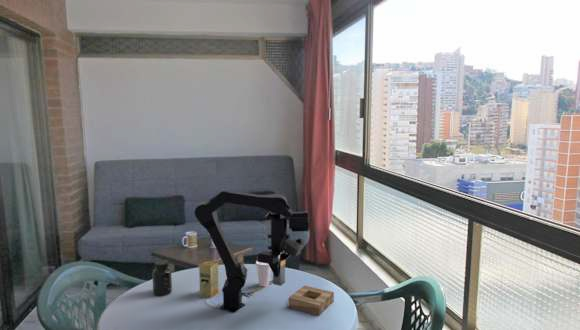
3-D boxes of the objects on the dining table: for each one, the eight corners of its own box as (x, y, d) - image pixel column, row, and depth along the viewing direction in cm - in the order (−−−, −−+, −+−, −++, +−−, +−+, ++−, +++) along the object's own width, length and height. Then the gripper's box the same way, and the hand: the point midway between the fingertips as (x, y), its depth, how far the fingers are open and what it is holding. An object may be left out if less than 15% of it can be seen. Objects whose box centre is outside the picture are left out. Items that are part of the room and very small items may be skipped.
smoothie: (275, 284, 164) (275, 250, 162) (265, 290, 159) (265, 255, 157) (262, 280, 168) (262, 247, 166) (252, 286, 162) (252, 251, 160)
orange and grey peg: (280, 286, 141) (280, 262, 140) (272, 284, 143) (272, 260, 142) (285, 282, 144) (285, 259, 143) (277, 280, 146) (277, 257, 145)
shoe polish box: (207, 290, 158) (207, 260, 157) (218, 292, 156) (217, 262, 155) (199, 295, 154) (199, 264, 152) (210, 297, 152) (210, 266, 150)
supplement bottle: (149, 294, 154) (147, 264, 153) (161, 287, 160) (160, 258, 159) (164, 298, 152) (163, 266, 150) (175, 290, 158) (174, 260, 156)
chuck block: (319, 315, 139) (319, 305, 139) (288, 306, 145) (288, 297, 145) (333, 301, 149) (333, 292, 149) (304, 294, 155) (304, 285, 155)
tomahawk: (252, 302, 151) (253, 299, 151) (240, 295, 155) (240, 293, 155) (289, 283, 167) (289, 281, 167) (277, 277, 171) (277, 275, 171)
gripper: (285, 242, 129) (285, 289, 131) (311, 228, 145) (311, 270, 147) (255, 237, 135) (256, 282, 137) (284, 224, 151) (284, 264, 153)
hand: (278, 275), depth 143 cm, fingers closed on orange and grey peg, 3 cm apart
